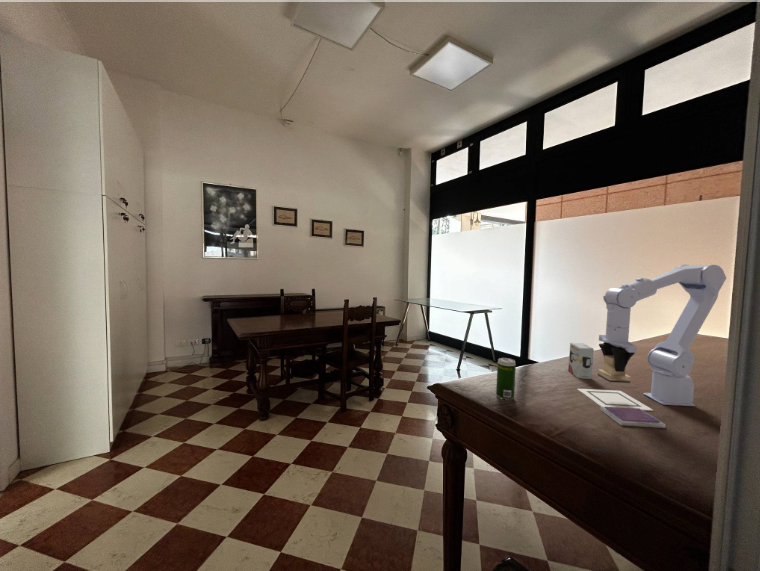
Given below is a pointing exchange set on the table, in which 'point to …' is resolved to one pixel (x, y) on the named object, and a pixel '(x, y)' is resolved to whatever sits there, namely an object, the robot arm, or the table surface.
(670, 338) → the robot arm
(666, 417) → the table surface
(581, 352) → the ink box
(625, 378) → the wooden stamp
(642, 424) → the ink pad
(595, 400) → the paper sheet
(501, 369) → the green canister
